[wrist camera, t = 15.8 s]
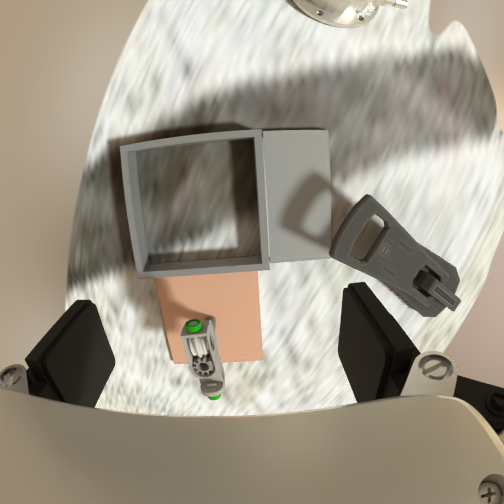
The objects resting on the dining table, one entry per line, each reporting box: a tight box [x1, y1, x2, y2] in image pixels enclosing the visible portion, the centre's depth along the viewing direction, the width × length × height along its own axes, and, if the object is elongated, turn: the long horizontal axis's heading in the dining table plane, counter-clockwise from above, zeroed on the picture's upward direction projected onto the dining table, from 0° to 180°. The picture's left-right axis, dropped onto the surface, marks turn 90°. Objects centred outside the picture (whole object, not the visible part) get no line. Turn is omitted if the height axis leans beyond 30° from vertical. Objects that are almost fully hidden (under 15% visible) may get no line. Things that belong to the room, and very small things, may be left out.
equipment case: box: [120, 129, 331, 279], centre depth 33 cm, size 24×16×3 cm, turn 94°
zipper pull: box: [329, 194, 461, 317], centre depth 35 cm, size 9×7×25 cm
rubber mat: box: [155, 271, 263, 364], centre depth 39 cm, size 13×14×1 cm
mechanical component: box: [180, 317, 225, 400], centre depth 34 cm, size 3×10×10 cm, turn 8°
